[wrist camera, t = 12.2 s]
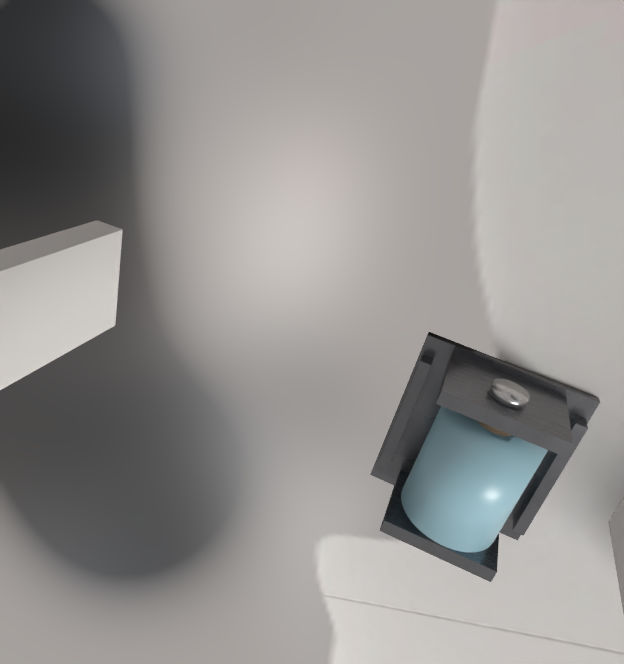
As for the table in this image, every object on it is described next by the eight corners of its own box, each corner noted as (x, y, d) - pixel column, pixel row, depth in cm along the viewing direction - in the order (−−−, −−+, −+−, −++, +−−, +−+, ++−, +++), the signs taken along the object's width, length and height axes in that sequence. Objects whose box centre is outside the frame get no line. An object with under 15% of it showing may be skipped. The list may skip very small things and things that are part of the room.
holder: (429, 330, 41) (414, 369, 35) (599, 397, 39) (612, 450, 33) (371, 471, 47) (350, 524, 41) (516, 535, 45) (516, 601, 39)
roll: (459, 377, 42) (430, 417, 36) (555, 425, 39) (540, 476, 34) (418, 463, 45) (386, 513, 40) (504, 512, 43) (482, 572, 37)
